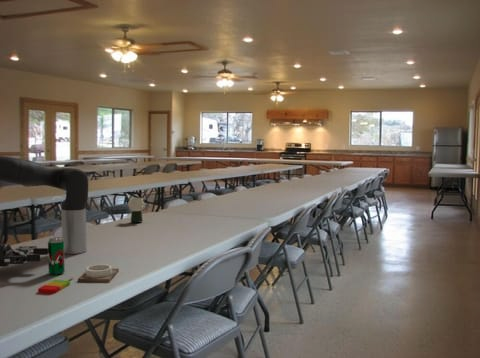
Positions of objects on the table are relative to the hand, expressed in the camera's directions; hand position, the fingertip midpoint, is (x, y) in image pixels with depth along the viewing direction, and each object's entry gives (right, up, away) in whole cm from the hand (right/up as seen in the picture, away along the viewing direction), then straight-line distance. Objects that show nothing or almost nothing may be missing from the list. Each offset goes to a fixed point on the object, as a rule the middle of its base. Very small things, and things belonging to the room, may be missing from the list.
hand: (44, 254), depth 156 cm
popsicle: (+10, -8, -12) cm, 17 cm away
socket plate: (+19, -7, -2) cm, 20 cm away
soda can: (+4, -7, +1) cm, 8 cm away
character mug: (+10, +2, +95) cm, 95 cm away
